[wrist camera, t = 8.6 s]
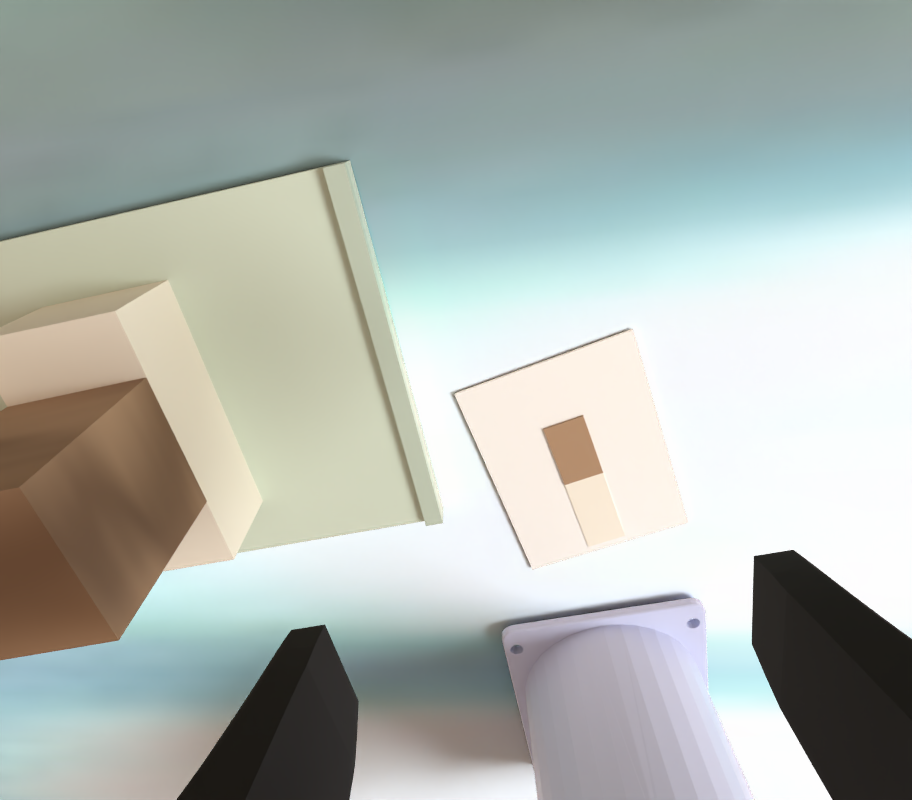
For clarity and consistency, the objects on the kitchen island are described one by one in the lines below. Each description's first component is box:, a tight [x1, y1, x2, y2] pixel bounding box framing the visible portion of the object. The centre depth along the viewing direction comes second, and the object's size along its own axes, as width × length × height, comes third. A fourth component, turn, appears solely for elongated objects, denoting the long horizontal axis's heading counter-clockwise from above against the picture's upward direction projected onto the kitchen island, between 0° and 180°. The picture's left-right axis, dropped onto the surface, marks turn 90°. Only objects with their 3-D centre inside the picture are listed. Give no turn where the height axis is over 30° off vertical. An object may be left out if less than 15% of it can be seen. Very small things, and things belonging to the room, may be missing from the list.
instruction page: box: [454, 329, 688, 569], centre depth 21 cm, size 8×6×1 cm
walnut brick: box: [0, 378, 207, 660], centre depth 14 cm, size 4×4×5 cm
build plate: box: [0, 160, 443, 553], centre depth 19 cm, size 12×14×1 cm
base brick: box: [0, 280, 263, 571], centre depth 18 cm, size 8×4×3 cm, turn 12°
